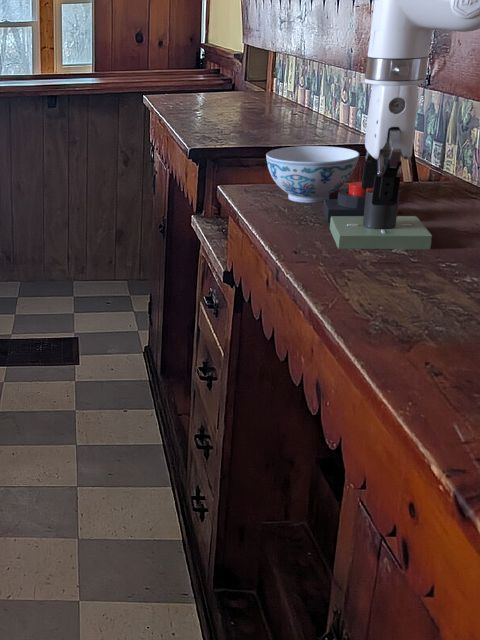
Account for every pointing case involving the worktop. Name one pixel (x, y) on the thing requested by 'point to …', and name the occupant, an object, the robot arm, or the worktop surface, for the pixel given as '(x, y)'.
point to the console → (379, 234)
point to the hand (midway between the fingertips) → (378, 196)
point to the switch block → (344, 205)
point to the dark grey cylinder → (379, 213)
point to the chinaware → (311, 170)
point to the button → (356, 189)
